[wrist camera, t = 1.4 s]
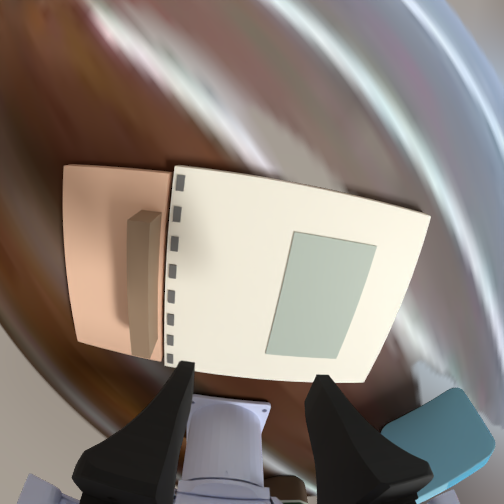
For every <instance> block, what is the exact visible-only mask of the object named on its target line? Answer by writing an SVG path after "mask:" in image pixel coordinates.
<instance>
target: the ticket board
mask: <svg viewBox="0 0 504 504" xmlns="http://www.w3.org/2000/svg"><path fill="white" fill-rule="evenodd" d="M430 218H431V216H429V215H427V214H425V213H422V212H419V211H415V210H412V209H408V208H404V207H401V206H397V205H393V204H389V203H385V202H382V201H378V200H374V199H369V198H365V197H361V196H357V195H353V194H348V193H344V192H339V191H335V190H330V189H325V188H321V187H316V186H311V185H306V184H301V183H295V182H290V181H285V180H279V179H273V178H268V177H262V176H256V175H249V174H243V173H237V172H230V171H223V170H216V169H208V168H200V167H192V166H184V165H177V166H175V168H174V177H173V185H172V195H171V205H170V216H169V228H168V242H167V258H166V278H165V313H164V355H165V366H169V367H175V368H176V367H177V365H178V363H179V361H181V360H183V361H189V362H195V371H199V372H205V373H212V374H219V375H227V376H236V377H245V378H255V379H266V380H279V381H297V382H314V379H315V377H316V374H320V375H329V376H330V377H331V378H332V380H333V381H334V382H335V383H357V382H364V381H365V379H366V377H367V376H368V374H369V372H370V370H371V368H372V366H373V364H374V362H375V360H376V358H377V356H378V354H379V352H380V350H381V348H382V346H383V344H384V342H385V340H386V338H387V335H388V333H389V331H390V329H391V327H392V324H393V322H394V320H395V317H396V315H397V313H398V310H399V308H400V306H401V303H402V301H403V298H404V296H405V293H406V291H407V288H408V285H409V283H410V280H411V277H412V275H413V272H414V269H415V266H416V263H417V260H418V257H419V254H420V251H421V248H422V245H423V242H424V239H425V235H426V232H427V229H428V225H429V222H430Z"/></svg>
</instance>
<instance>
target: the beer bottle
mask: <svg viewBox="0 0 504 504" xmlns="http://www.w3.org/2000/svg"><path fill="white" fill-rule="evenodd" d="M264 487H268V488H269V492H270V497H277V498H278V499H279V500H280V502H282V503H283V504H308V502H307V494H306V489H305V484H304V482H303V481H302V480H301V479H299V478H297V477H296V476H275V477H271V478H267V479H264Z"/></svg>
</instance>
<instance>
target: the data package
mask: <svg viewBox="0 0 504 504" xmlns="http://www.w3.org/2000/svg"><path fill="white" fill-rule="evenodd" d="M381 434H382V435H383V436H384V437H385V438H387V439H388V440H390V441H391V442H392V443H394V444H395V445H397V446H398V447H400V448H401V449H403V450H405V451H407V452H408V453H410V454H412V455H414V456H416V457H418V458H421V459H423V460H425V461H427V462H428V463H429V465H430V467H431V470H432V472H433V474H434V478H433V479H432V481H431V482H430V483H429V484H427V485H426V486H425V487H424V488H422V489H421V490H420V491H419V492H417V495H418V499H417V500H415V501H416V503H417V504H419V503H421V502H423V501H425V500H427V499H429V498H431V497H433V496H435V495H437V494H439V493H441V492H443V491H444V490H446V489H448V488H450V487H451V486H453V485H455V484H457V483H458V482H460V481H462V480H463V479H465V478H466V477H468V476H470V475H471V474H472V473H474V472H475V471H477V470H479V469H480V468H482V467H483V466H484V465H485V464H486V463H487V461H488V460H489V458H490V456H491V454H492V452H493V451H494V448H495V440H494V438H493V436H492V435H491V433H490V431H489V430H488V428H487V426H486V425H485V423H484V422H483V420H482V418H481V417H480V415H479V414H478V412H477V411H476V409H475V408H474V406H473V404H472V403H471V401H470V400H469V398H468V397H467V396H466V394H465V393H464V391H463V390H462V389H460V388H452V389H449V390H447V391H446V392H444V393H442V394H441V395H439V396H438V397H436V398H434V399H433V400H431V401H429V402H427V403H426V404H424V405H422V406H420V407H419V408H417V409H415V410H413V411H411V412H410V413H408V414H406V415H404V416H402V417H400V418H398V419H396V420H394V421H392V422H390V423H388V424H387V425H385V427H384V428H383V429H382V431H381Z"/></svg>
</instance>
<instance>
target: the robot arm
mask: <svg viewBox="0 0 504 504" xmlns="http://www.w3.org/2000/svg"><path fill="white" fill-rule="evenodd" d="M194 372H195V362H189V361H183V360H181V361H179V363H178V365H177V367H176V369H175V370H174V372H173V374H172V375H171V377H170V378H169V380H168V381H167V382H166V384H165V385H164V386H163V388H162V389H161V390H160V392H159V393H158V394H157V395H156V397H155V398H154V399H153V400H152V401H151V402H150V403H149V405H148V406H147V407H146V408H145V409H144V410H143V411H142V412H141V413H140V414H139V415H137V416H136V417H135V418H134V419H133V420H132V421H131V422H129V423H128V424H127V425H126V426H125V427H123V428H122V429H121V430H119V431H118V432H116V433H115V434H113V435H112V436H110V437H109V438H107V439H106V440H104V441H103V442H101V443H99V444H97V445H95V446H93V447H91V448H89V449H87V450H85V451H84V453H83V454H82V455H81V457H80V459H79V460H78V462H77V464H76V466H75V469H74V472H73V475H72V479H73V481H74V483H75V484H76V485H77V486H78V487H79V489H80V490H81V491H82V492H83V493H82V496H81V499H80V500H77V499H74V498H72V497H70V496H68V495H65V494H63V493H61V491H60V490H59V489H58V488H57V487H56V486H54V485H52V484H50V483H49V482H46V481H44V480H43V479H41V478H39V477H37V476H35V475H33V474H29V475H28V477H27V479H26V482H25V484H24V487H23V489H22V491H21V494H20V497H19V499H18V502H17V504H283V503H282V502H280V500H279V499H278V498H277V497H270V492H269V488H268V487H264V479H263V460H262V441H261V433H262V430H263V427H264V425H265V422H266V419H267V417H268V414H269V411H270V408H271V405H270V403H268V402H258V401H246V400H236V399H227V398H219V397H211V396H204V395H197V394H193V388H194ZM305 415H306V423H307V428H308V432H309V437H310V441H311V446H312V450H313V455H314V460H315V468H316V480H317V504H417V503H416V501H415V500H417V499H418V495H417V492H419V491H420V490H421V489H422V488H424V487H425V486H426V485H427V484H429V483H430V482H431V481H432V479H433V478H434V474H433V472H432V470H431V467H430V465H429V463H428V462H427V461H425V460H423V459H421V458H418V457H416V456H414V455H412V454H410V453H408V452H407V451H405V450H403V449H401V448H400V447H398V446H397V445H395V444H394V443H392V442H391V441H390V440H388V439H387V438H385V437H384V436H383V435H382V434H380V433H379V432H378V431H377V430H376V429H375V428H374V427H373V426H371V425H370V424H369V423H368V422H367V421H366V420H365V419H364V418H363V417H362V416H361V414H360V413H359V412H358V411H357V410H356V409H355V408H354V407H353V405H352V404H351V403H350V402H349V401H348V399H347V398H346V397H345V396H344V394H343V393H342V392H341V390H340V389H339V388H338V386H337V385H336V384H335V382H334V381H333V380H332V378H331V377H330V376H329V375H320V374H316V377H315V379H314V382H313V384H312V386H311V388H310V391H309V393H308V395H307V397H306V400H305ZM186 426H187V445H186V452H185V459H184V465H183V472H182V480H179V482H178V489H175V481H176V473H177V466H178V458H179V453H180V448H181V445H182V441H183V437H184V433H185V429H186ZM427 504H460V502H459V500H458V497H457V495H456V493H455V491H454V490H450V491H448V492H446V493H443V494H441V495H439V496H437V497H435V498H433V499H432V500H430V501H429V502H428V503H427Z"/></svg>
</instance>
